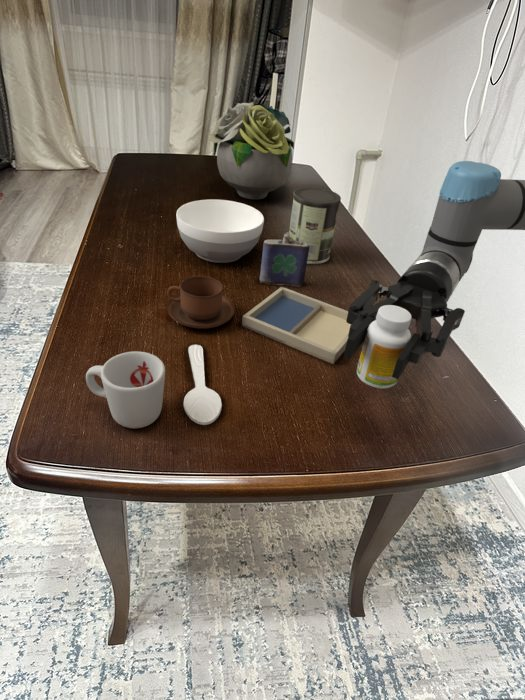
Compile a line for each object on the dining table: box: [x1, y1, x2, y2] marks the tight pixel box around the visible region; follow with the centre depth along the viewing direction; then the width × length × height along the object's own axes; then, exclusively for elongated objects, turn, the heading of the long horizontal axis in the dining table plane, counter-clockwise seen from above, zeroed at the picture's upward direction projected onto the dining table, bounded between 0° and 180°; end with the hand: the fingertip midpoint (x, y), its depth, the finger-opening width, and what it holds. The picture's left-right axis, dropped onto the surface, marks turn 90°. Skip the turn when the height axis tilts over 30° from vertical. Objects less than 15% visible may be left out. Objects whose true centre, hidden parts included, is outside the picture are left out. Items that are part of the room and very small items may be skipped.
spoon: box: [182, 344, 223, 426], centre depth 73 cm, size 5×18×1 cm, turn 11°
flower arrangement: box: [208, 101, 295, 200], centre depth 136 cm, size 25×25×24 cm
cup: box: [85, 351, 166, 429], centre depth 65 cm, size 11×8×8 cm
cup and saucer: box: [166, 275, 236, 330], centre depth 87 cm, size 12×12×6 cm
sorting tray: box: [241, 286, 351, 365], centre depth 88 cm, size 18×14×2 cm
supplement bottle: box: [356, 305, 412, 389], centre depth 61 cm, size 5×5×10 cm
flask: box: [259, 231, 309, 287], centre depth 99 cm, size 9×3×11 cm, turn 91°
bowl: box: [176, 199, 265, 264], centre depth 108 cm, size 19×19×9 cm
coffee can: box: [288, 186, 342, 265], centre depth 110 cm, size 10×10×14 cm
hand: (372, 358), depth 57 cm, fingers closed on supplement bottle, 5 cm apart
